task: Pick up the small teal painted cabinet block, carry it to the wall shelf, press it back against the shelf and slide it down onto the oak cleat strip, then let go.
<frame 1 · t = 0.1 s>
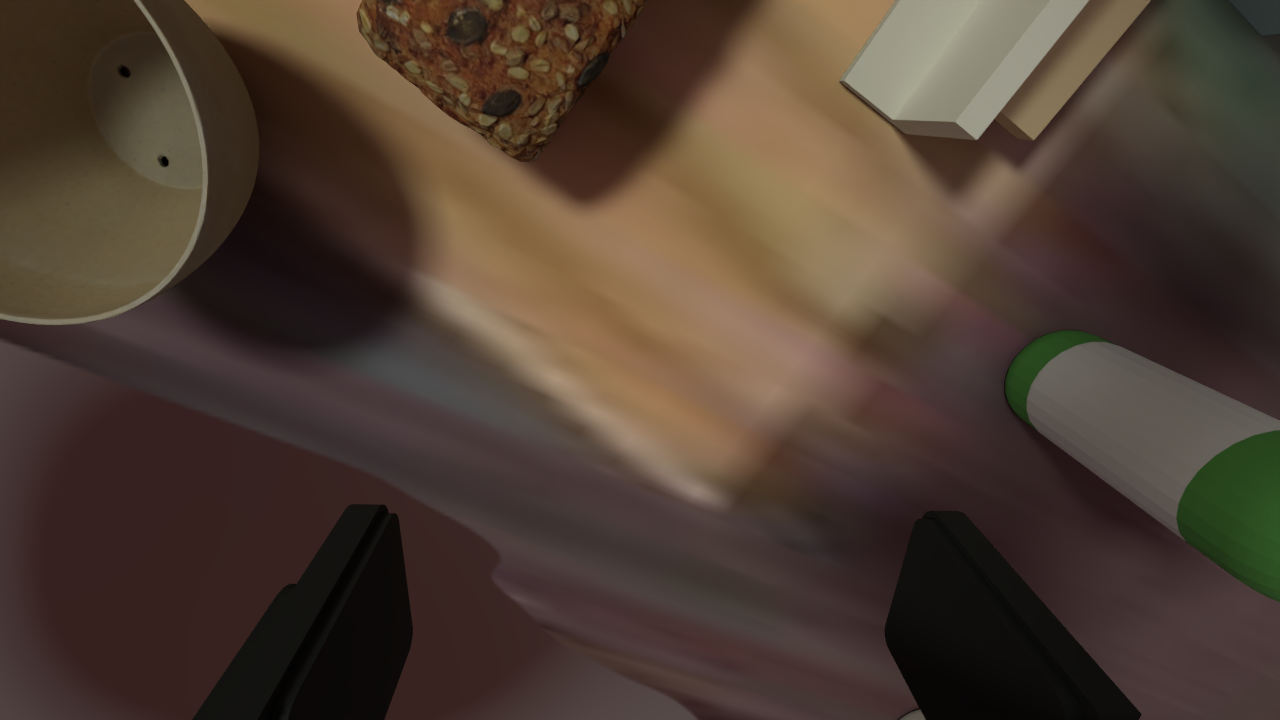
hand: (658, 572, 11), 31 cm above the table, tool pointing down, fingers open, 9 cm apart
flower pot: (173, 114, 35), on the table
wine bottle: (1046, 371, 45), on the table
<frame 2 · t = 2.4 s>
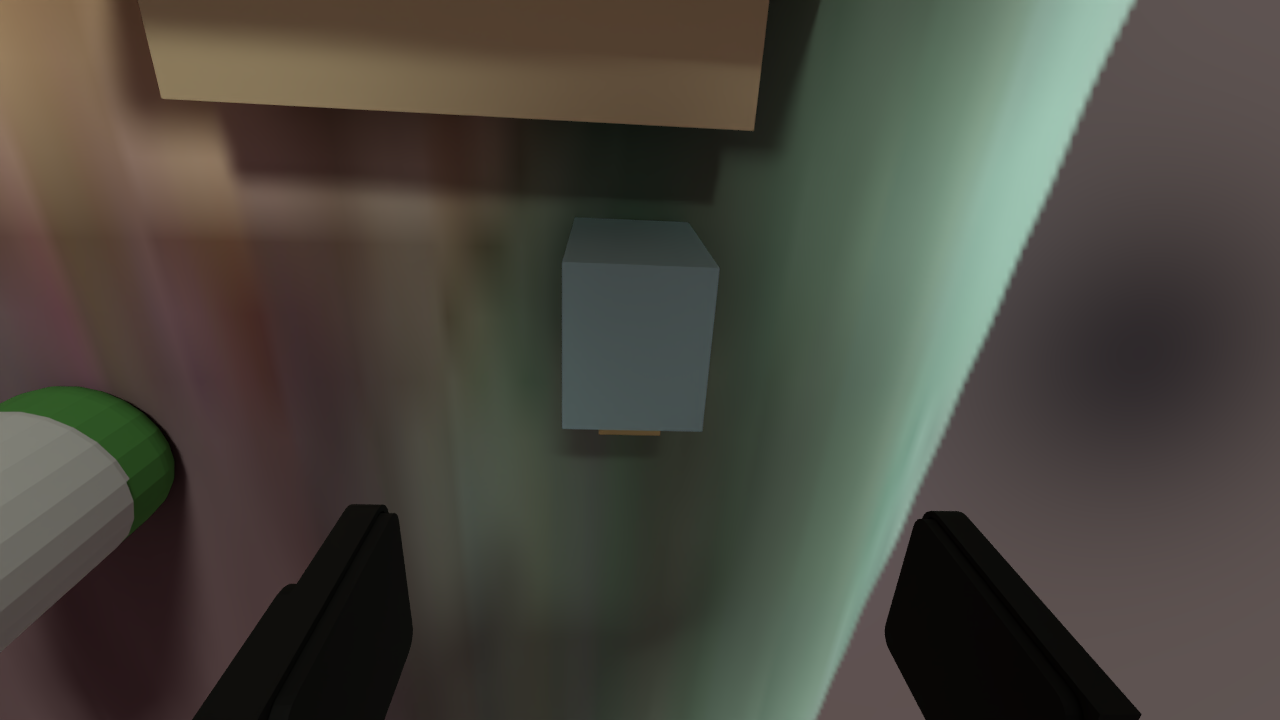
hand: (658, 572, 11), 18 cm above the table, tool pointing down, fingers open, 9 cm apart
wine bottle: (105, 445, 29), on the table
wall shelf: (486, 58, 23), on the table
cabinet block: (628, 285, 27), on the table
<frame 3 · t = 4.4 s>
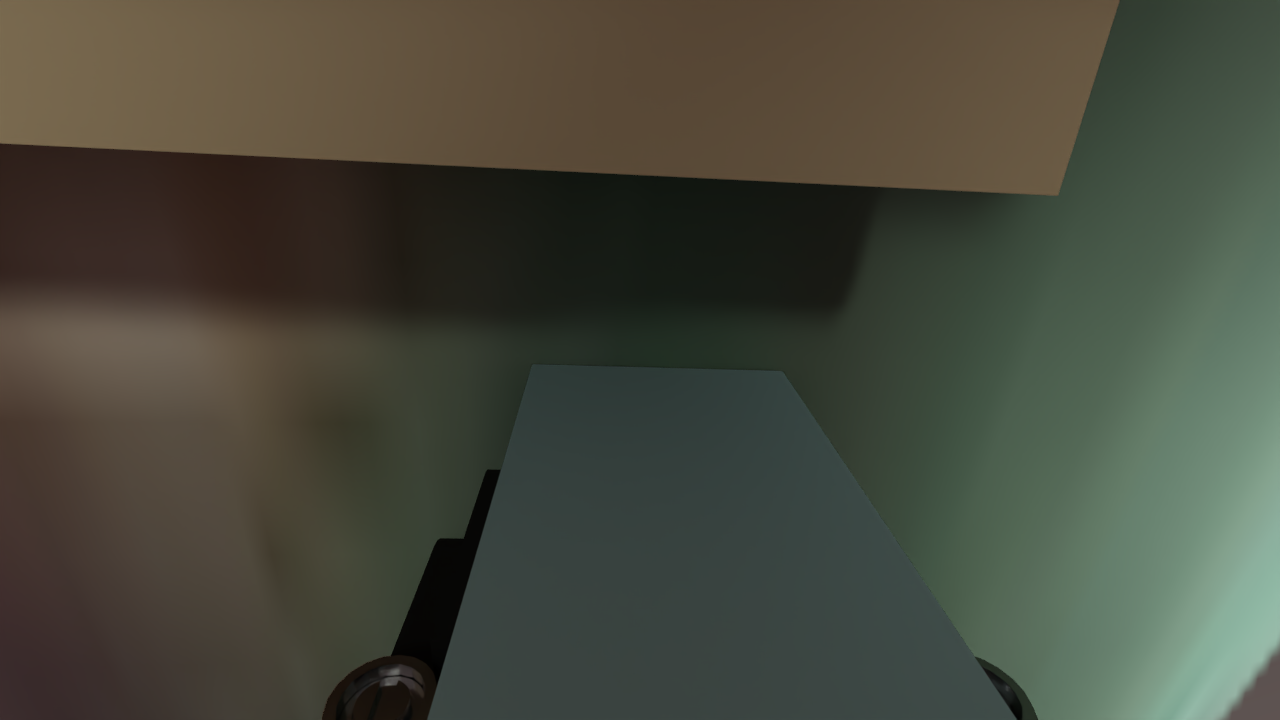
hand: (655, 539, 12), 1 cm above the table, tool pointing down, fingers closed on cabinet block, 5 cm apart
cabinet block: (650, 493, 13), on the table, touching gripper
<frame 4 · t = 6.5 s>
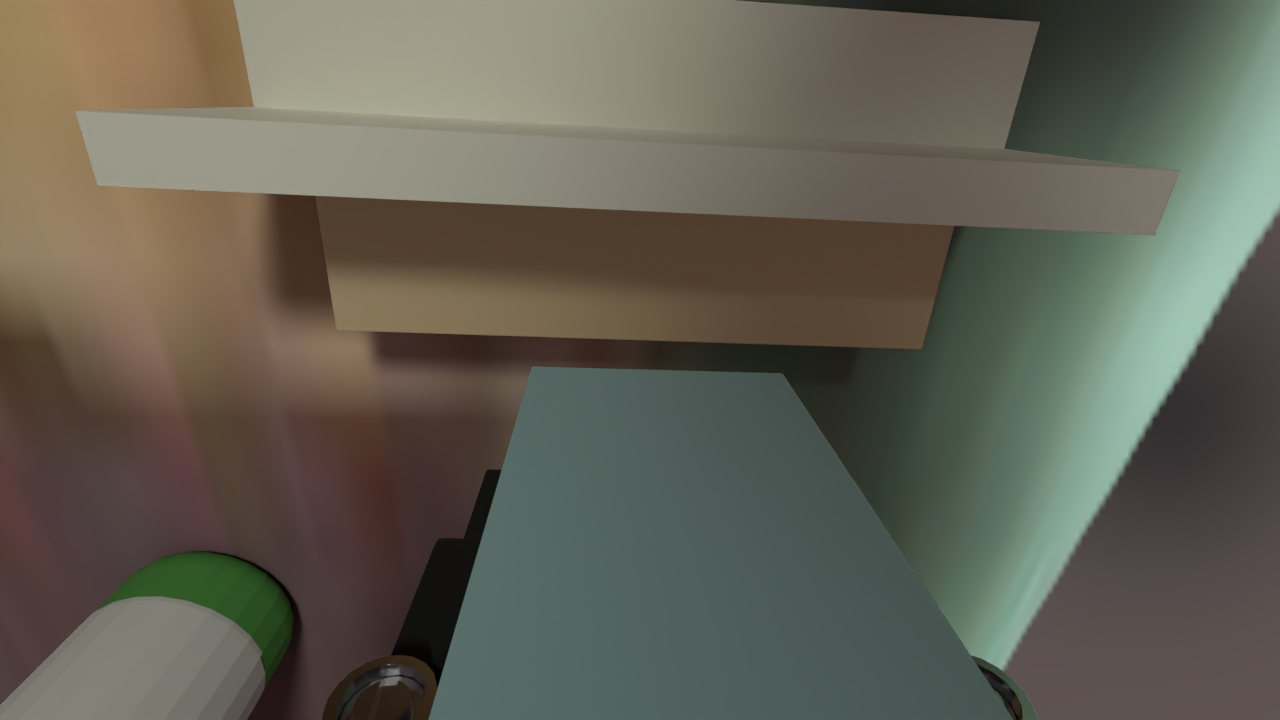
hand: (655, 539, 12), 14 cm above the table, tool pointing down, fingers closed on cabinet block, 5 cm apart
wine bottle: (223, 599, 29), on the table
wall shelf: (636, 254, 23), on the table
cabinet block: (650, 495, 13), point 12 cm above the table, touching gripper
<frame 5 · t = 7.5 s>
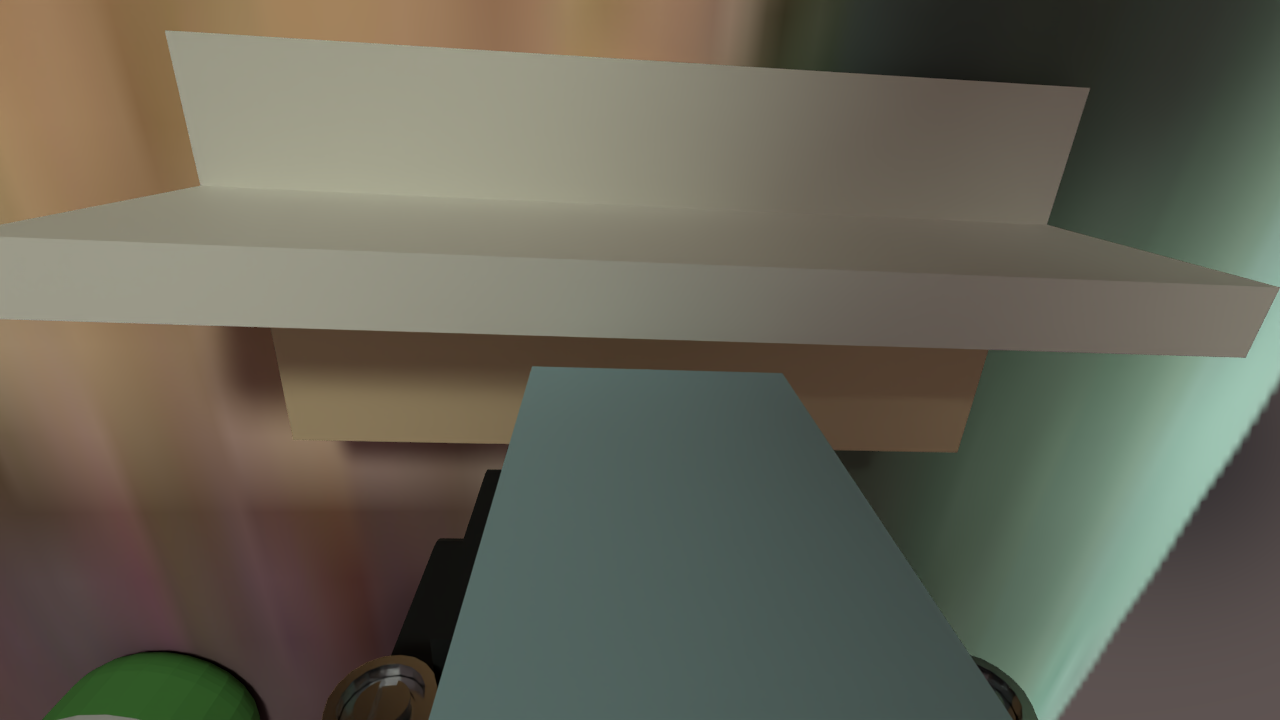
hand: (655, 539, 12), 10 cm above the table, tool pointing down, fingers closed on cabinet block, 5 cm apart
wine bottle: (183, 698, 27), on the table
wall shelf: (635, 336, 21), on the table
cabinet block: (650, 495, 13), point 9 cm above the table, touching gripper
when the fingers open (7 cm above the table, at t = 8.5 s): cabinet block drops 1 cm, resting on wall shelf.
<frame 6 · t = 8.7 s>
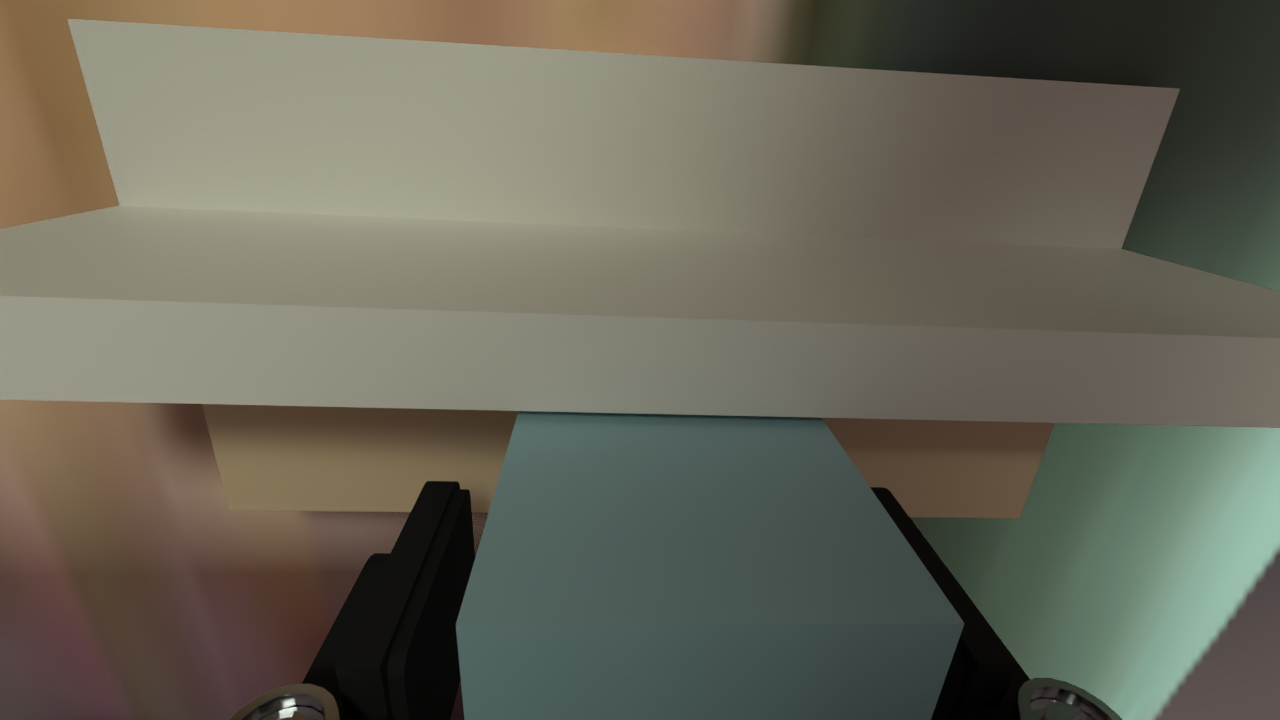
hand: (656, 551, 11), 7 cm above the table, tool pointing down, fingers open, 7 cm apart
wall shelf: (638, 376, 18), on the table
cabinet block: (648, 452, 14), point 4 cm above the table, touching wall shelf
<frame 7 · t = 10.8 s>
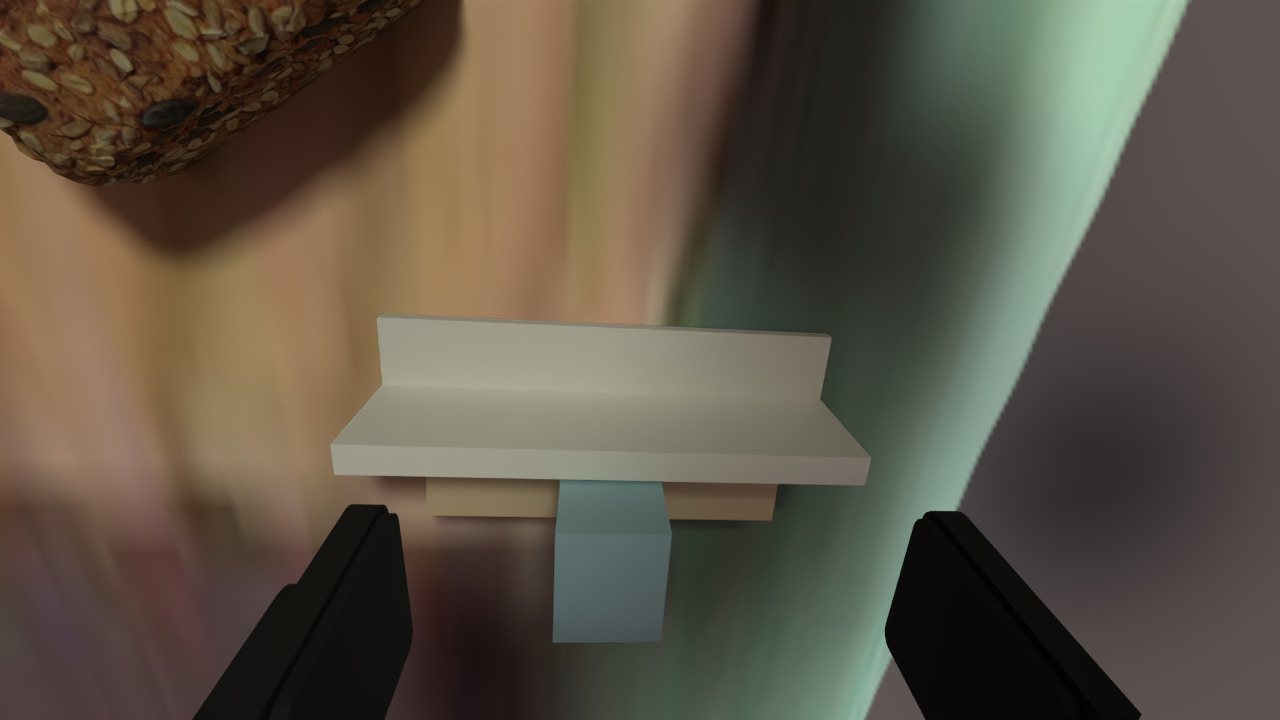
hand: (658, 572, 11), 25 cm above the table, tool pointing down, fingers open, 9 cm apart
wall shelf: (604, 453, 38), on the table
cabinet block: (606, 491, 34), point 4 cm above the table, touching wall shelf
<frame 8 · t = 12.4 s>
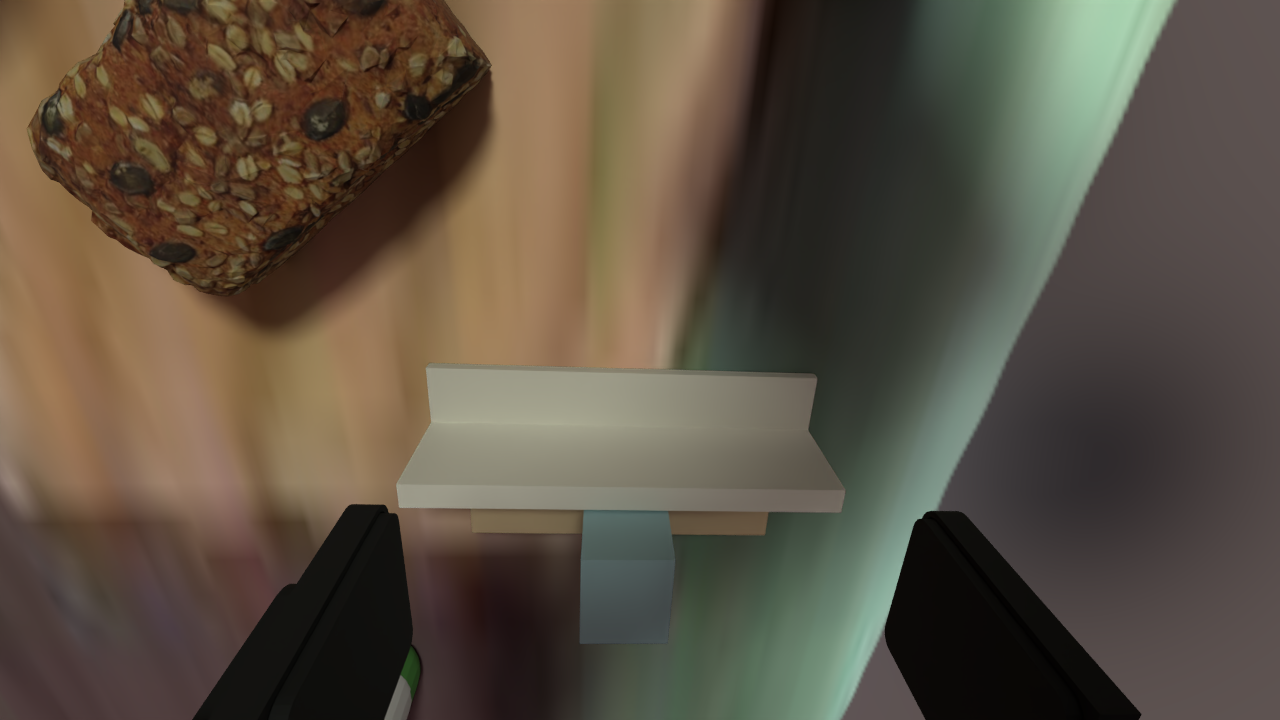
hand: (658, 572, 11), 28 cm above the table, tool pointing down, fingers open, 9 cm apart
wine bottle: (377, 655, 49), on the table
wall shelf: (620, 475, 43), on the table
cabinet block: (622, 511, 40), point 4 cm above the table, touching wall shelf
bread: (322, 104, 33), on the table
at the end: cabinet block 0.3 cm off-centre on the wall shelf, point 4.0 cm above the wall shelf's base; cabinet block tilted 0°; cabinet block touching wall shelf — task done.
